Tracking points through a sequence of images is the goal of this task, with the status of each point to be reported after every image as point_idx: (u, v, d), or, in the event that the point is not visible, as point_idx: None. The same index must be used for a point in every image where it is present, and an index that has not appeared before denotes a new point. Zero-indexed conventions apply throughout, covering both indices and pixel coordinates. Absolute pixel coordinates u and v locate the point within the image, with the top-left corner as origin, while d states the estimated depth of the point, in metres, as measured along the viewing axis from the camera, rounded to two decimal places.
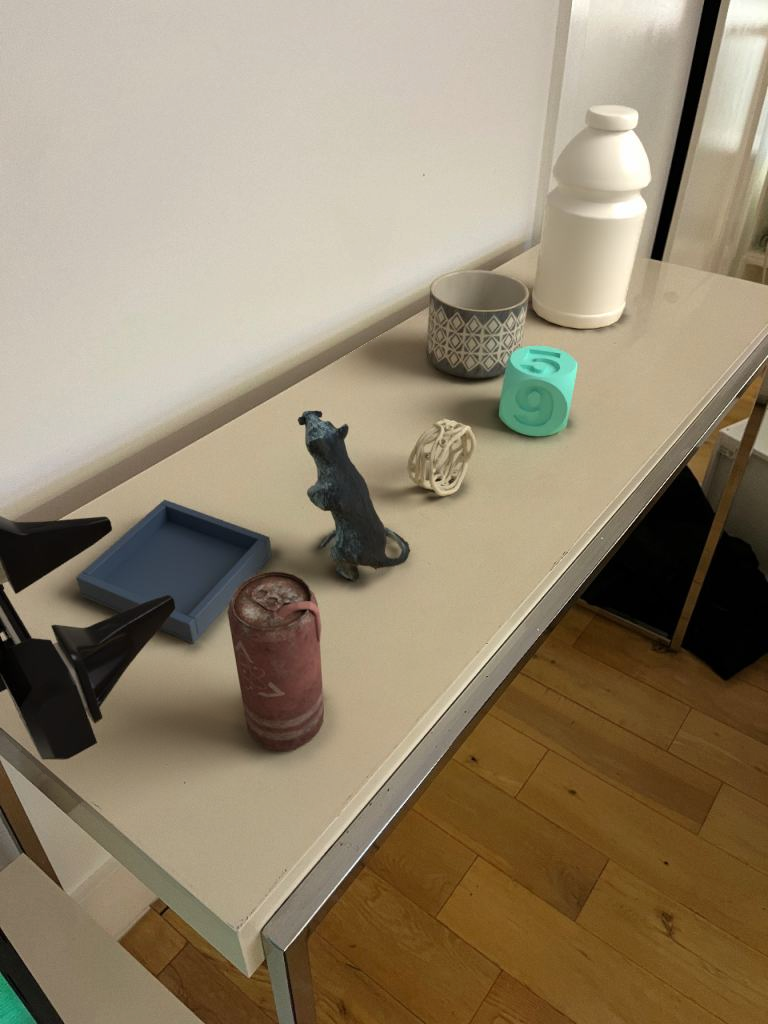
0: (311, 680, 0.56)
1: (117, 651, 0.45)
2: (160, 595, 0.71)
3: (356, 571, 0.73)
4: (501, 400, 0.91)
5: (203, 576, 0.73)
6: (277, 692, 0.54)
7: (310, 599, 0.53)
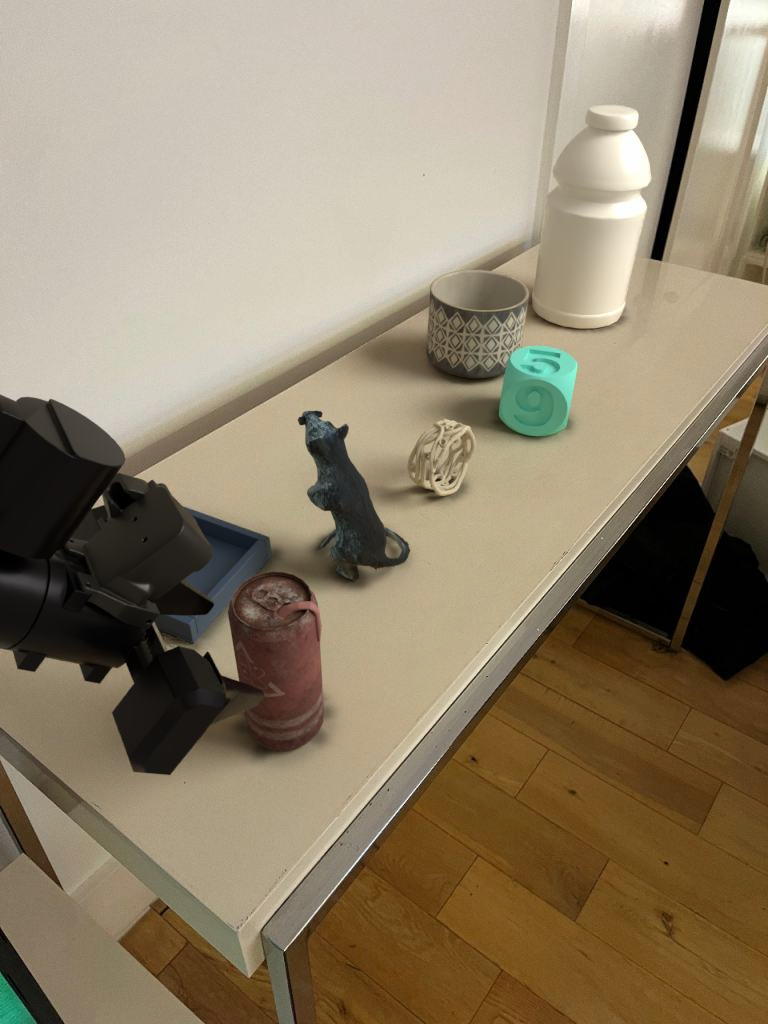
0: (311, 680, 0.56)
1: None
2: None
3: (356, 571, 0.73)
4: (501, 400, 0.91)
5: (203, 576, 0.73)
6: (277, 692, 0.54)
7: (310, 599, 0.53)
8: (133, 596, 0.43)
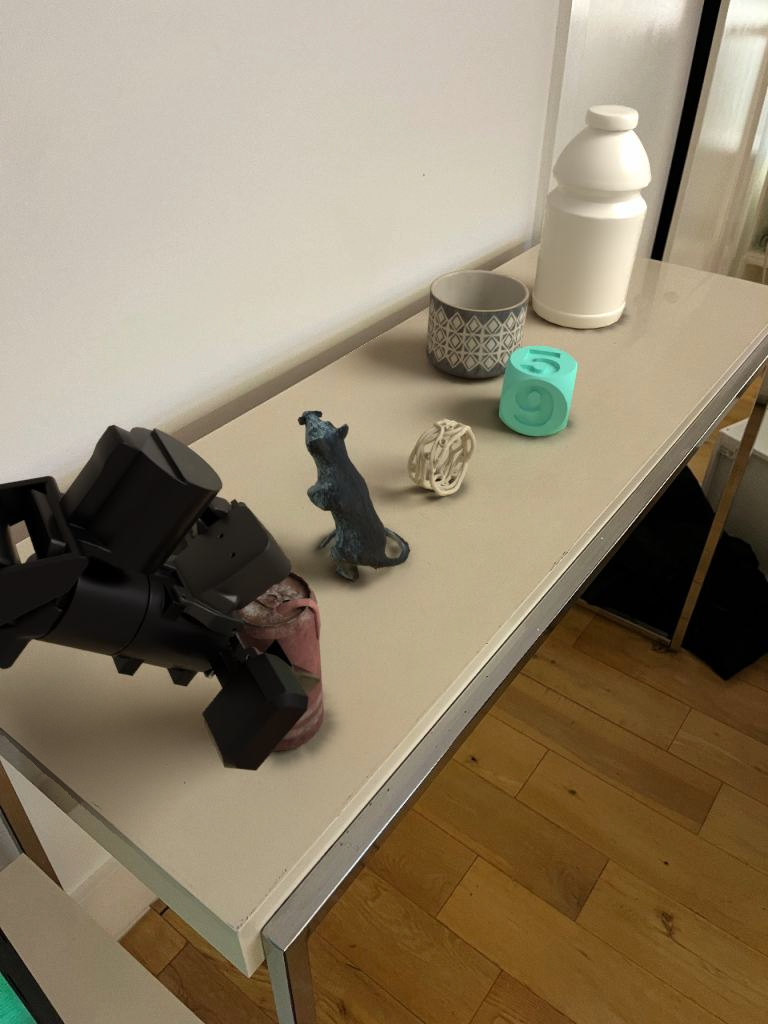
0: None
1: None
2: None
3: (356, 571, 0.73)
4: (501, 400, 0.91)
5: None
6: None
7: (309, 596, 0.53)
8: (222, 607, 0.47)
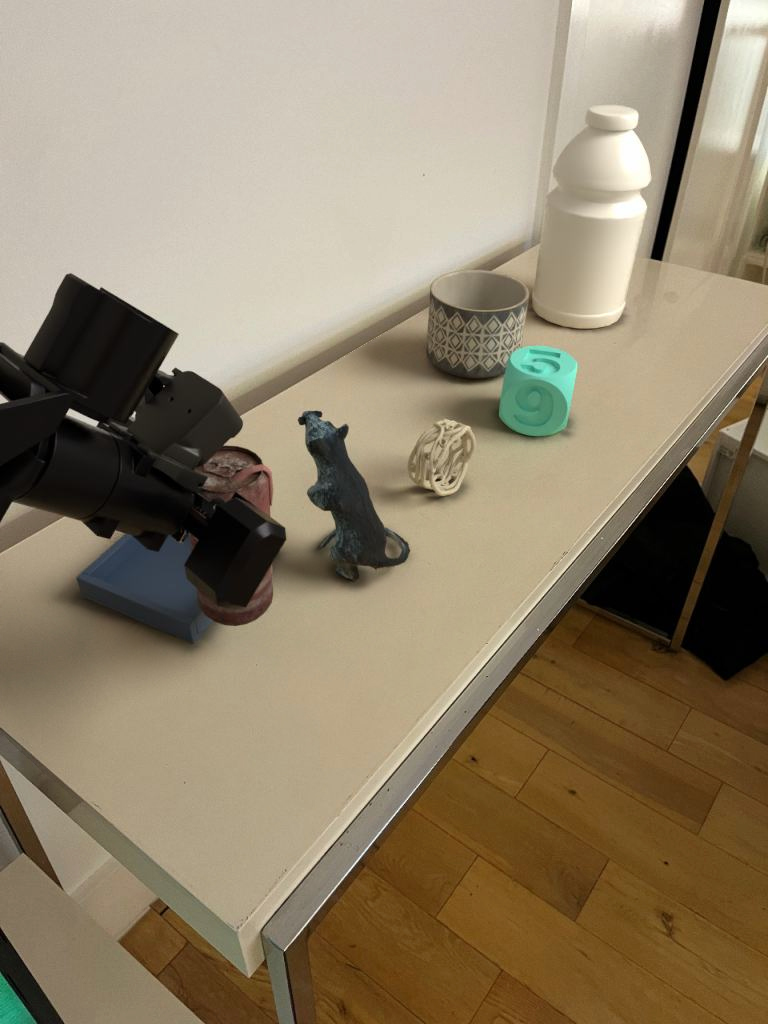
0: None
1: None
2: (160, 595, 0.71)
3: (356, 571, 0.73)
4: (501, 400, 0.91)
5: None
6: None
7: (261, 463, 0.56)
8: (187, 460, 0.49)
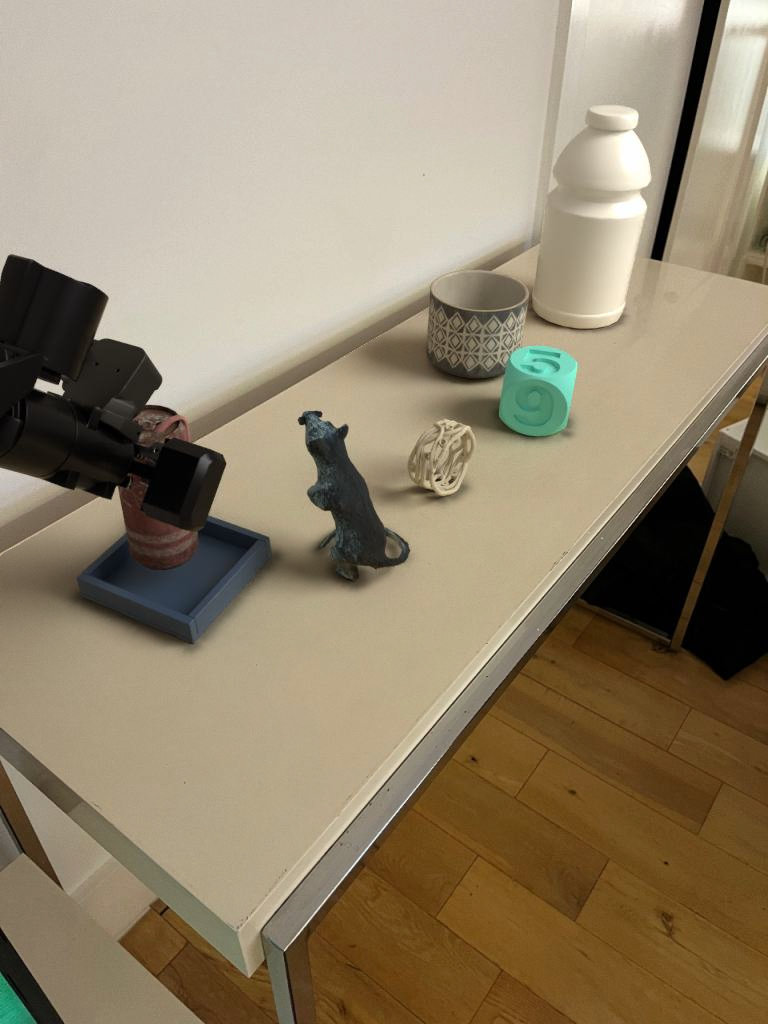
0: None
1: None
2: (160, 595, 0.71)
3: (356, 571, 0.73)
4: (501, 400, 0.91)
5: (203, 576, 0.73)
6: None
7: (175, 414, 0.64)
8: (126, 412, 0.56)
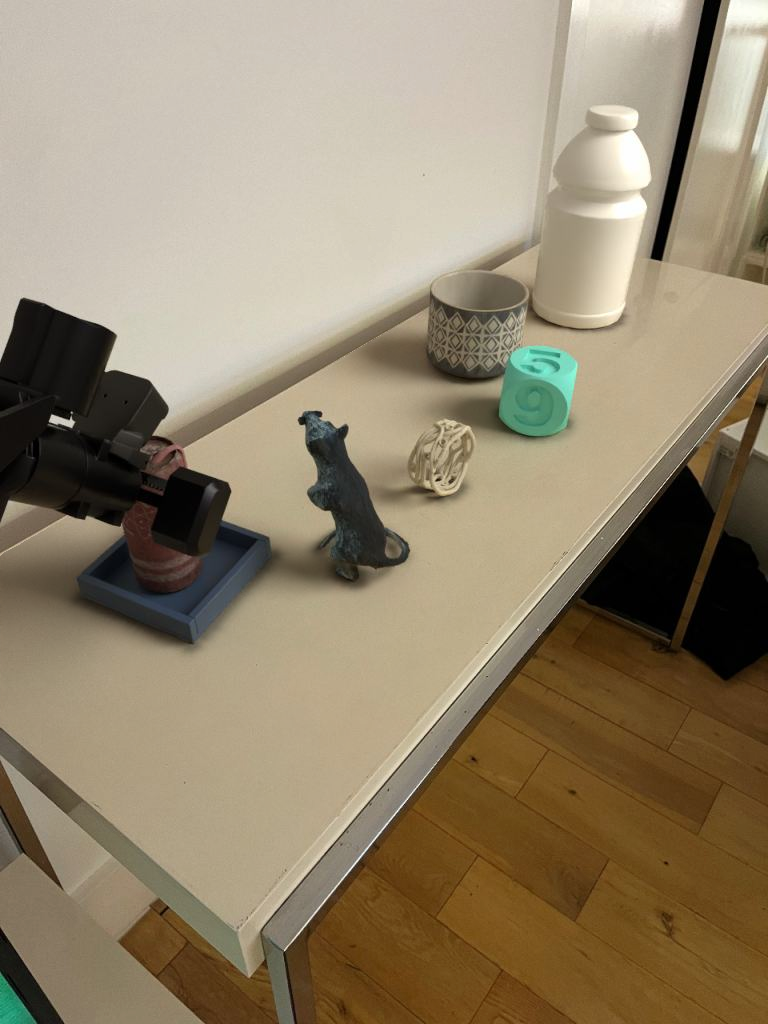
0: None
1: None
2: (160, 595, 0.71)
3: (356, 571, 0.73)
4: (501, 400, 0.91)
5: (203, 576, 0.73)
6: None
7: (172, 444, 0.66)
8: (134, 443, 0.58)
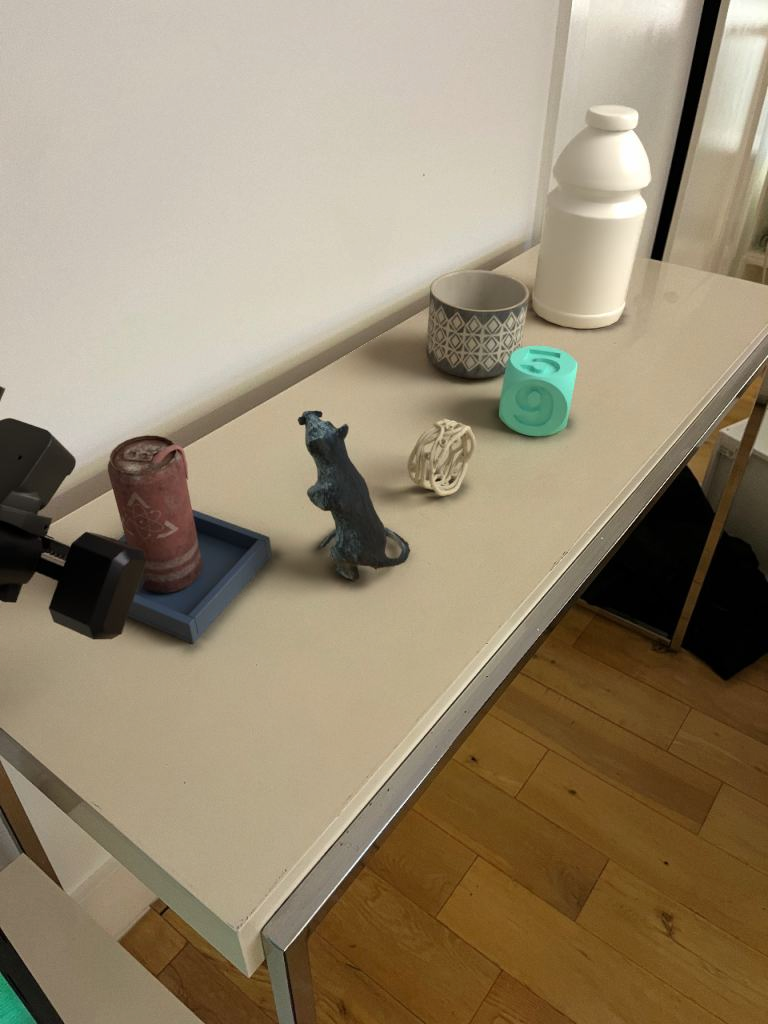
0: (191, 514, 0.69)
1: None
2: (160, 595, 0.71)
3: (356, 571, 0.73)
4: (501, 400, 0.91)
5: (203, 576, 0.73)
6: (173, 529, 0.67)
7: (172, 444, 0.66)
8: (29, 506, 0.49)
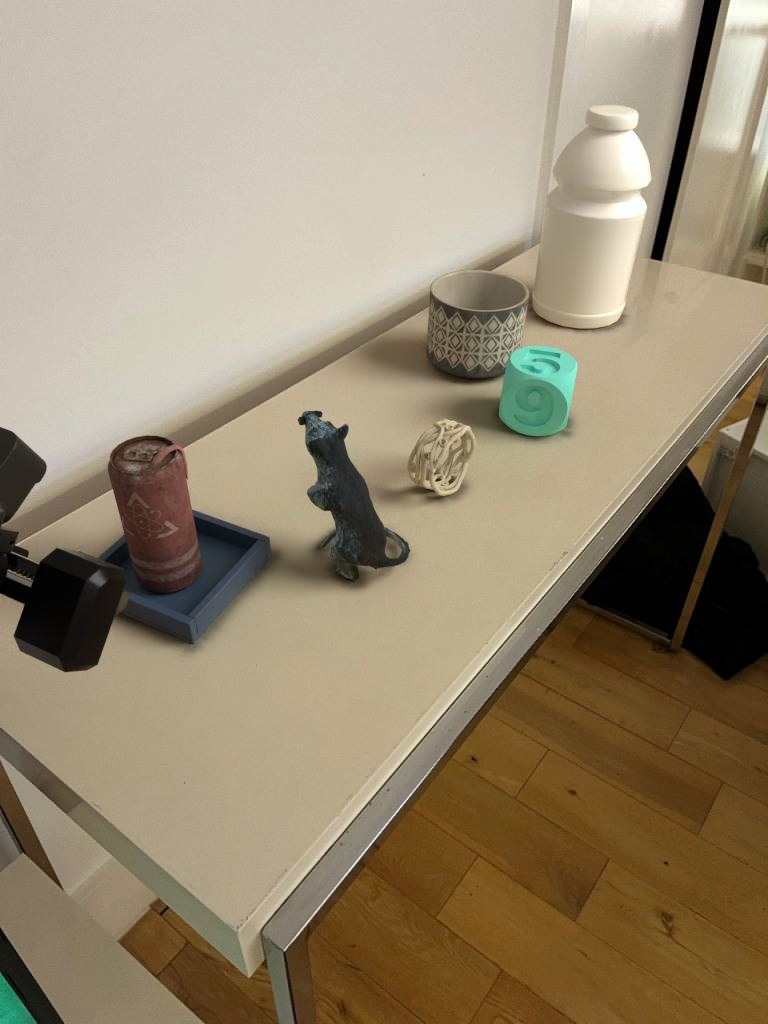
0: (191, 514, 0.69)
1: None
2: (160, 595, 0.71)
3: (356, 571, 0.73)
4: (501, 400, 0.91)
5: (203, 576, 0.73)
6: (173, 529, 0.67)
7: (172, 444, 0.66)
8: None
